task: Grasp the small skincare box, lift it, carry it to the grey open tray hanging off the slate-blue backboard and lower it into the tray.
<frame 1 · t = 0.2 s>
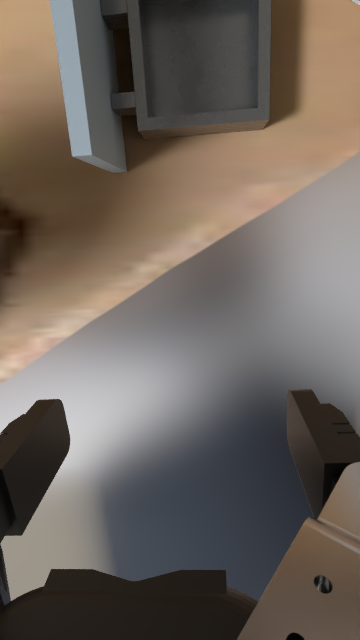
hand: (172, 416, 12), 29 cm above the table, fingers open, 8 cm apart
grey open tray: (200, 65, 33), on the table
backboard: (109, 74, 34), on the table
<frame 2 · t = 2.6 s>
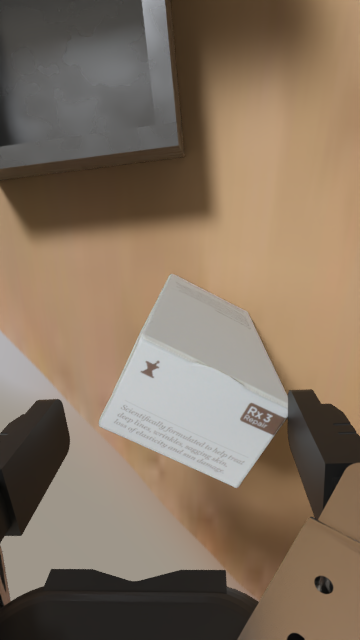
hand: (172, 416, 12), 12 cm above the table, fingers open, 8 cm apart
grey open tray: (67, 53, 19), on the table
skincare box: (199, 315, 24), on the table, touching gripper
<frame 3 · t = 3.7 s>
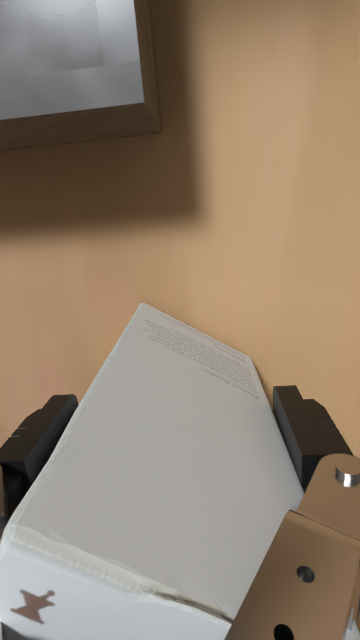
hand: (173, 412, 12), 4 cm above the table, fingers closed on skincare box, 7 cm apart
skincare box: (182, 360, 17), on the table, touching gripper
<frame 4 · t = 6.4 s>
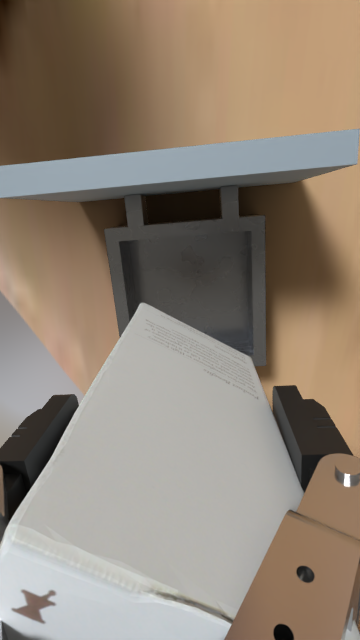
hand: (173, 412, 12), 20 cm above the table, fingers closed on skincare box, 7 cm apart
grey open tray: (190, 289, 31), on the table
skincare box: (182, 360, 17), point 15 cm above the table, touching gripper
backboard: (182, 182, 28), on the table
when the fingers open (7 cm above the table, at t = 9.4 s): skincare box drops 2 cm, resting on grey open tray.
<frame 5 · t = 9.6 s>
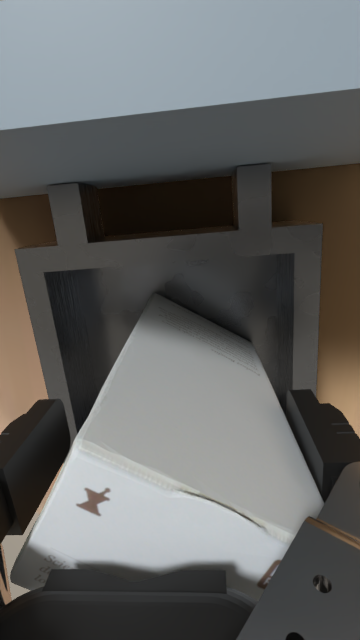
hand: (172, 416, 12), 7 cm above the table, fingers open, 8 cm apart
grey open tray: (181, 342, 19), on the table
skincare box: (190, 346, 18), resting on grey open tray, touching gripper
backboard: (165, 165, 16), on the table
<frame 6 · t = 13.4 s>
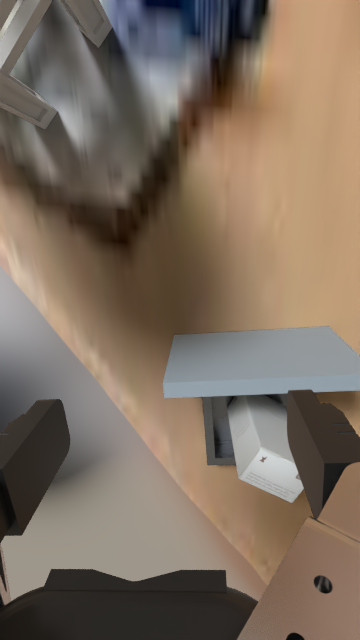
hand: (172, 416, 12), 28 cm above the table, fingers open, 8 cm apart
grey open tray: (251, 402, 43), on the table
skincare box: (256, 404, 43), resting on grey open tray
backboard: (250, 336, 41), on the table
stool: (31, 37, 33), on the table
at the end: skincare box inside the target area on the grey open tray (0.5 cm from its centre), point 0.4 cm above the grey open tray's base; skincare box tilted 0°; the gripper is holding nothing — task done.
